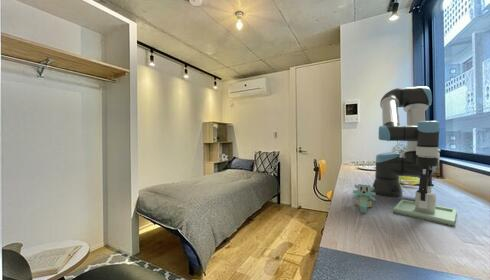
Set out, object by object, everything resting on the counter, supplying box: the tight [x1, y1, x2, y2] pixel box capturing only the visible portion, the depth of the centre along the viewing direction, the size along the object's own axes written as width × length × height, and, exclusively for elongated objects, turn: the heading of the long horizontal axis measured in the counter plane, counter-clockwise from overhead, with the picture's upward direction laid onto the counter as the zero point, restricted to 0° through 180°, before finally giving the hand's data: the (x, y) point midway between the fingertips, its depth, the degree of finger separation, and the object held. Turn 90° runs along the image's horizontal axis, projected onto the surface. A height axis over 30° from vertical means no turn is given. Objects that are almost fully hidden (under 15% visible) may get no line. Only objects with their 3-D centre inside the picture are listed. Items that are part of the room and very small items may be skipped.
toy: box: [352, 183, 377, 214], centre depth 105 cm, size 10×13×15 cm
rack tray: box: [393, 198, 457, 227], centre depth 100 cm, size 20×17×2 cm
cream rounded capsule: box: [414, 190, 437, 214], centre depth 99 cm, size 7×7×8 cm
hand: (425, 203), depth 99 cm, fingers open, 13 cm apart
